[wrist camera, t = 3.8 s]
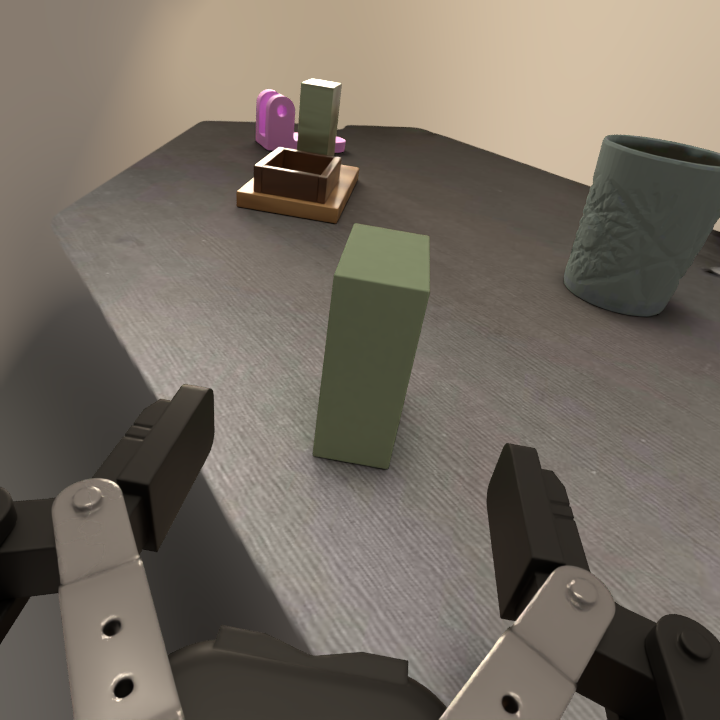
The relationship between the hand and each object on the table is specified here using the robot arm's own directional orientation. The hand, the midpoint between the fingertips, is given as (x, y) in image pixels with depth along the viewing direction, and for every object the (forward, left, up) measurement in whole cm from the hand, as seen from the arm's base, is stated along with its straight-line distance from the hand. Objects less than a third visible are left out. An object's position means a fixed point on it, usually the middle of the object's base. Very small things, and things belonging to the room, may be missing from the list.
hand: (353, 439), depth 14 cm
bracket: (+33, +63, -7) cm, 72 cm away
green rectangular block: (+6, +7, -7) cm, 12 cm away
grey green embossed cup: (+36, +12, -7) cm, 39 cm away
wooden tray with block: (+22, +43, -7) cm, 49 cm away
